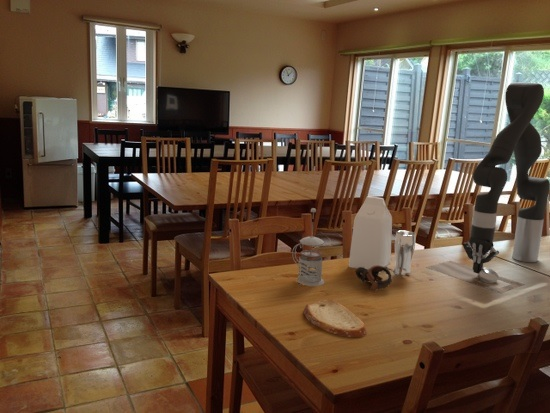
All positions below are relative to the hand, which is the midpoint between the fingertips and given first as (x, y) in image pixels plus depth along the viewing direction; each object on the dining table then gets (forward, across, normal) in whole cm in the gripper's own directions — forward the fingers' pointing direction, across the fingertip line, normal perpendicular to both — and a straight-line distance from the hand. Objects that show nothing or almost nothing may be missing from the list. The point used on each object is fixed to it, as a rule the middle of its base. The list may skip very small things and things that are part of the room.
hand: (476, 272), depth 171 cm
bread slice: (+4, +2, +65) cm, 65 cm away
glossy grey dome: (+2, -4, 0) cm, 4 cm away
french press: (+3, +30, +52) cm, 60 cm away
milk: (+3, +30, +22) cm, 37 cm away
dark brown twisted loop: (+3, +14, +37) cm, 39 cm away
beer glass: (+3, +18, +18) cm, 25 cm away
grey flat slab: (+3, +1, 0) cm, 3 cm away
